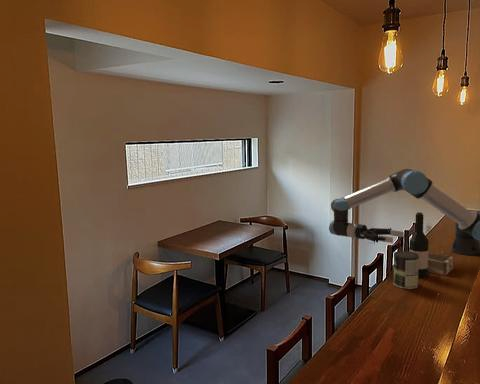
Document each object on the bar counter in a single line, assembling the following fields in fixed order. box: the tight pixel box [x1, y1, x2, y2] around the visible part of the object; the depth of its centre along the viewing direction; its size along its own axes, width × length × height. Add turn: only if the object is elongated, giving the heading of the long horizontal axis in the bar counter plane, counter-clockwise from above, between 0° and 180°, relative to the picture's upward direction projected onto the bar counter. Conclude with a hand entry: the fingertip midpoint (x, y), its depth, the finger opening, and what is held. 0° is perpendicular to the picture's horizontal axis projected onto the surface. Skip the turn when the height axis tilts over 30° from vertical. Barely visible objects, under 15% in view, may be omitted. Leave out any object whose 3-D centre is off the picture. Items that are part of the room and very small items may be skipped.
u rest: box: [428, 251, 455, 276], centre depth 194 cm, size 12×12×6 cm
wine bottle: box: [408, 211, 429, 279], centre depth 185 cm, size 8×8×30 cm
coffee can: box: [392, 250, 419, 290], centre depth 175 cm, size 10×10×14 cm
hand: (398, 237), depth 193 cm, fingers open, 13 cm apart
